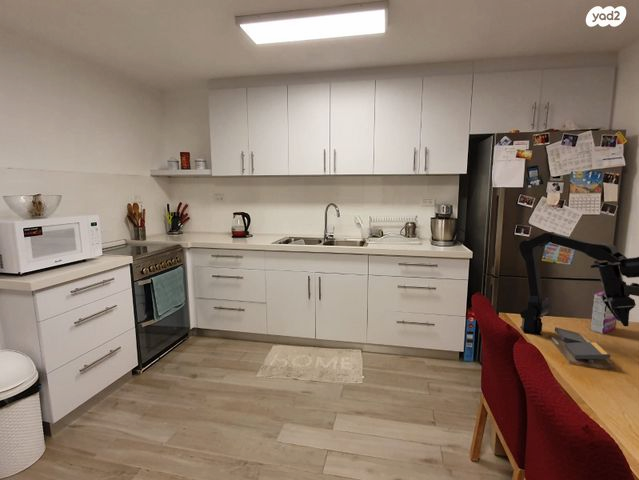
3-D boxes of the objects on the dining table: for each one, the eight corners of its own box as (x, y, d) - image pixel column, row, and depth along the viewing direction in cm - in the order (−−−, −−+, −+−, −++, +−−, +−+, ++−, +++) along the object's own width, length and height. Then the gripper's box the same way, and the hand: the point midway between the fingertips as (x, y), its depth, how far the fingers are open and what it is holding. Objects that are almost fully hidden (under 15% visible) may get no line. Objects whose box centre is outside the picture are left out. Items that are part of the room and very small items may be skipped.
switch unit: (569, 363, 117) (569, 357, 116) (548, 337, 137) (549, 332, 137) (615, 370, 112) (615, 363, 112) (586, 342, 133) (587, 336, 133)
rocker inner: (563, 340, 126) (564, 337, 126) (554, 330, 136) (555, 326, 135) (594, 348, 123) (595, 345, 123) (582, 337, 133) (584, 334, 133)
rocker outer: (575, 358, 116) (574, 354, 116) (564, 346, 126) (564, 342, 125) (610, 358, 113) (610, 354, 113) (596, 345, 122) (596, 341, 122)
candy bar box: (601, 325, 150) (606, 289, 147) (615, 329, 145) (620, 293, 143) (588, 330, 145) (593, 293, 142) (602, 334, 140) (608, 296, 138)
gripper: (650, 278, 106) (663, 327, 104) (634, 273, 122) (646, 316, 120) (605, 282, 112) (617, 329, 110) (596, 277, 128) (606, 319, 126)
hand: (622, 323), depth 116 cm, fingers open, 9 cm apart
